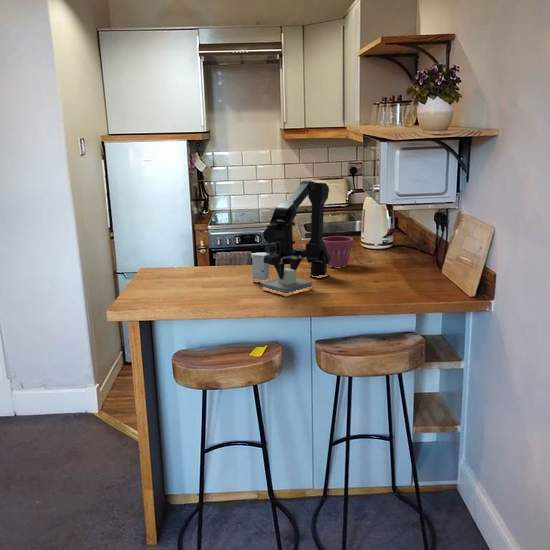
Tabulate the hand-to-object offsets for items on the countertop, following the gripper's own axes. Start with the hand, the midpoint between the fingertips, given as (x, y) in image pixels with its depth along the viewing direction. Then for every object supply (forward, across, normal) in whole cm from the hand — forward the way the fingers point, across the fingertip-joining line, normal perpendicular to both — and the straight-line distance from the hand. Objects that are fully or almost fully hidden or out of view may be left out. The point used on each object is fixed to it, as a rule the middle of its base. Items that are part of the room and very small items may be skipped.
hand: (286, 277), depth 227 cm
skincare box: (+5, -1, -17) cm, 18 cm away
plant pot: (+5, -42, -12) cm, 44 cm away
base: (+5, 0, 0) cm, 5 cm away
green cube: (+2, 0, 0) cm, 2 cm away
